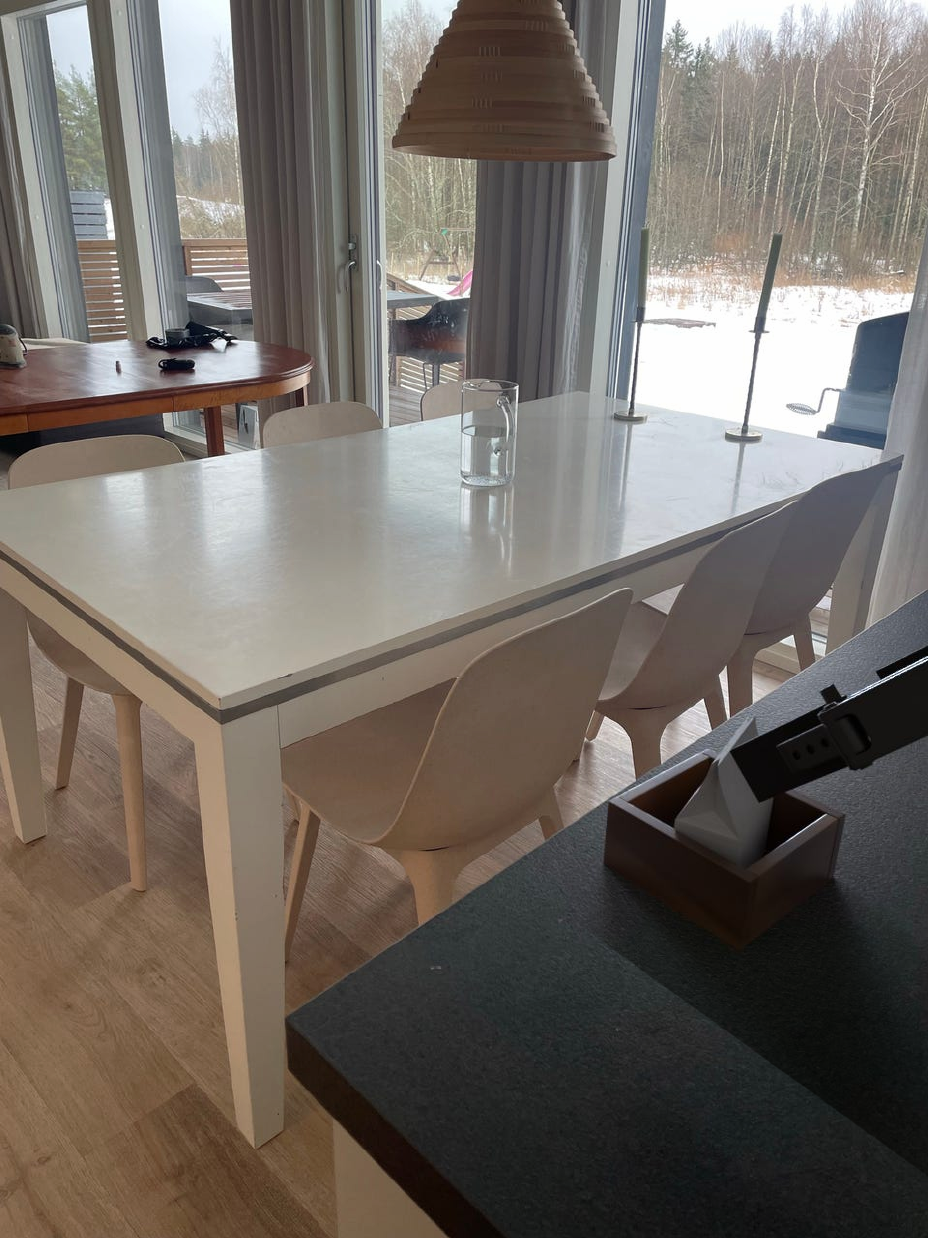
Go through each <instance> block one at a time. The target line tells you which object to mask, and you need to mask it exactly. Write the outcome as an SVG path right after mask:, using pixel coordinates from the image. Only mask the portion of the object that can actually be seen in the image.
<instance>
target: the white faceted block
mask: <svg viewBox="0 0 928 1238" xmlns="http://www.w3.org/2000/svg"><path fill="white" fill-rule="evenodd" d="M757 727H758V726H757V719H756V716H753V717H752V718H750V715H748V716H746V717H745V719H744V721H743V722H742V723H741V725H740V726H739V727H738V729H737V730H736V731H735V733H734V734H733V735H732V737H730V739H729V740H728V741H727V743H726V744H725V746H724V747H723V748H722V750H721V751H720V753H718V754H719V755H718V756H717V758H716V759H715V760H714V762H713V763H712V764H711V766H710V769H709V772H708V774H707V776H706V778H705V780H704V781H703V783H702V785H701V786H700V787H699V788H698V790H697V791H696V792H695V794H694V795H693V796H692V798H691V799H690V800H689V802H688V803H687V804H686V806H685V807H684V808H683V810H682V811H681V812H680V814H679V815H678V816H677V818H676V819H675V825H674V829H675V830H677V831H679V832H681V833H682V834H684V835H686V836H688V837H689V838H691V839H693V840H695V841H696V842H698V843H700V844H702V845H704V846H705V847H707V848H709V849H711V850H712V851H714V852H716V853H718V854H719V855H721V856H723V857H725V858H726V859H728V860H730V861H732V862H734V863H735V864H737V865H739V866H741V867H742V868H744V869H747V868H748V867H750V866H751V865H753V864H754V863H756V862H757V861H758V860H760V859H761V858H763V857H764V855H765V853H766V850H765V848H766V841H767V835H768V829H769V823H770V816H771V810H772V804H773V798H770V799H768V800H766V801H763V802H761V803H759V802H758V801H757V799H756V797H755V795H754V794H753V792H752V790H751V788H750V787H749V785H748V783H747V781H746V780H745V778H744V776H743V774H742V773H741V771H740V769H739V767H738V766H737V764H736V762H735V760H734V759H733V757H732V755H731V754H730V752H729V751H730V750H732V749H734V748H736V747H737V746H739V745H741V744H743V743H745V742H747V741H749V740H752V739H754V738H756V737H758V736H760V734H759V732H758V728H757Z"/></svg>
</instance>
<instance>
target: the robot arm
mask: <svg viewBox="0 0 928 1238" xmlns="http://www.w3.org/2000/svg"><path fill="white" fill-rule="evenodd" d="M875 674H876V675H877V676H878V678H879V679H880V680H879V681H876V682H875V683H872V684H871V685H869V686H866V687H865V688H863V689H860V690H859V691H857V692H855V693H853V694H851V695H850V694H848V695H847V694H844V693H843V694H840V692H839V690H838V688H837V687H836V685H835V683H831V684H829V685H828V686H826V687H823V688H821V689H820V690H819V691H818V692H819V694H820V696H821V697H822V699H823V701H824V703H823V704H821V705H819V706H817V707H815V708H812V709H810V710H809V711H807V712H805V713H803V714H800V715H799V716H797V717H794V718H793V719H790V720H788V721H786V722H785V723H782V724H780V725H778V726H776V727H774V728H772V729H770V730H768V731H765V732H764V733H761V734H759V736H758V737H756V738H754V739H752V740H749V741H747V742H745V743H743V744H741V745H739V746H737V747H736V748H734V749H732V750H730V751H729V752H730V754H731V755H732V757H733V759H734V760H735V762H736V764H737V766H738V767H739V769H740V771H741V773H742V774H743V776H744V778H745V780H746V781H747V783H748V785H749V787H750V788H751V790H752V792H753V794H754V795H755V797H756V799H757V801H758V802H759V803H761V802H763V801H766V800H768V799H770V798H773V797H775V796H778V795H780V794H783V793H785V792H787V791H790V790H792V789H794V790H795V789H797V788H799V787H802V786H805V785H807V784H810V783H811V782H815V781H817V780H819V779H822V778H824V777H826V776H829V775H832V774H834V773H836V772H838V771H842V770H844V769H846V768H848V769H849V770H850V771H854V772H855V771H858V770H861V771H862V770H865V769H867V768H869V767H871V766H873V765H874V763H875V761H877V760H879V759H880V758H883V757H885V756H887V755H888V756H889V754H892V753H894V752H896V751H898V750H900V749H903V748H905V747H906V746H909V745H911V744H913V743H916V742H918V741H920V740H922V739H924V738H927V737H928V644H927V645H925V646H923V647H921V648H918V649H917V650H915V651H913V652H911V653H909V654H907V655H905V656H902V657H901V658H899V659H897V660H895V661H893V662H891V663H889V664H887V665H885V666H883V667H880V668H879V669H877V670H875Z"/></svg>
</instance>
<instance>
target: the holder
mask: <svg viewBox="0 0 928 1238" xmlns="http://www.w3.org/2000/svg"><path fill="white" fill-rule="evenodd" d="M719 754H720V753H718V752H715V751H714V750H712V749H710V748H706V749H705V750H702V751H701V752H699V753H696V754H695V755H693V756H691V757H689V758H687V759H685V760H683V761H682V762H680V763H678V764H675V765H674V766H672V767H670V768H668V769H667V770H665V771H663V772H661V773H659V774H656V775H655V776H653V777H652V778H650V779H648V780H646V781H644V782H642V783H640V784H639V785H636V786H635V787H633V788H631V789H629V790H627V791H625V792H623V793H622V794H620V795H618V796H615V797H614V798H612V799H610V800H608V802H607V812H606V813H607V816H606V825H605V827H606V828H605V838H604V852H603V865H604V866H606V867H608V868H610V869H611V870H612V871H614V872H615V873H617V874H619V876H621V877H624V878H625V879H626V880H628V881H630V882H631V883H633V884H634V885H636V886H637V887H638V888H641V889H642V890H644V891H645V892H647V893H648V894H650V895H651V896H653V897H654V898H656V899H658V900H659V901H661V902H662V903H664V904H665V905H667V906H668V907H670V908H672V909H673V910H674V911H676V912H678V913H679V914H681V915H682V916H684V917H685V918H687V919H688V920H690V921H692V922H694V923H695V924H696V925H698V926H700V927H702V928H703V929H704V930H706V931H707V932H709V933H711V934H712V935H714V936H715V937H717V938H719V939H720V940H722V941H723V942H724V943H726V944H728V945H729V946H731V947H732V948H734V949H736V950H738V951H741V950H742V949H744V948H745V947H746V946H748V944H750V943H751V942H752V941H755V939H756V938H758V937H759V936H760V935H761V934H763V933H764V932H766V931H767V930H768V929H769V928H770V927H772V926H773V925H774V924H775V923H777V922H778V921H780V920H781V919H782V918H783V917H785V916H786V915H787V914H789V913H790V912H792V911H793V910H794V909H795V908H796V907H798V906H799V905H800V904H802V903H803V902H804V901H806V899H808V898H809V897H810V896H812V895H813V894H815V893H816V892H817V891H818V890H820V889H821V888H822V887H823V886H825V885H826V884H827V883H829V882H830V881H831V880H833V879H834V876H835V872H836V867H837V862H838V856H839V852H840V851H839V850H840V846H841V843H842V842H841V841H842V837H843V831H844V825H845V820H846V813H844V812H842V811H840V810H838V809H835V808H834V807H832V806H830V805H827V804H825V803H823V802H821V801H819V800H816V799H815V798H812V797H810V796H808V795H806V794H804V793H802V792H800V791H798V790H795V789H792V790H790V791H787V792H785V793H783V794H780V795H778V796H775V797H773V804H772V810H771V816H770V823H769V829H768V835H767V841H766V848H765V851H767V852H769V853H767V854H766V855H763V856H762V858H761V859H760V860H758V861H757V862H756V863H754V864H753V865H751V866H750V867H748V868H747V869H744V868H742V867H741V866H739V865H737V864H735V863H734V862H732V861H730V860H728V859H726V858H725V857H723V856H721V855H719V854H718V853H716V852H714V851H712V850H711V849H709V848H707V847H705V846H704V845H702V844H700V843H698V842H696V841H695V840H693V839H691V838H689V837H688V836H686V835H684V834H682V833H681V832H679V831H677V830H675V829H674V825H675V819H676V818H677V816H678V815H679V814H680V812H681V811H682V810H683V808H684V807H685V806H686V804H687V803H688V802H689V800H690V799H691V798H692V796H693V795H694V794H695V792H696V791H697V790H698V788H699V787H700V786H701V785H702V783H703V781H704V780H705V778H706V776H707V774H708V772H709V769H710V766H711V764H712V763H713V762H714V760H715V759H716V758H717V756H718V755H719Z"/></svg>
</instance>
